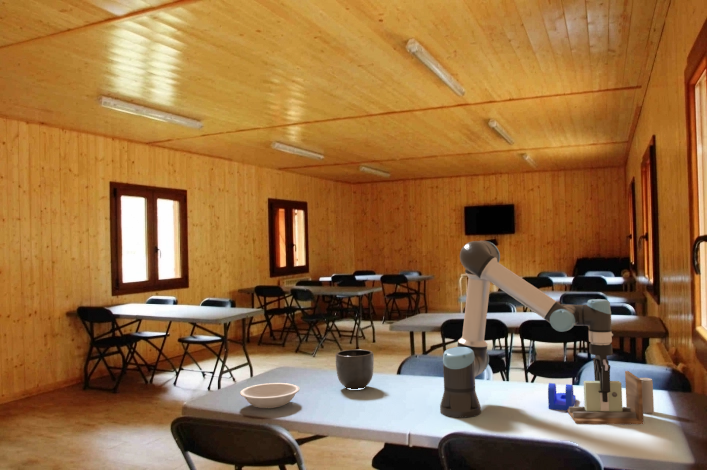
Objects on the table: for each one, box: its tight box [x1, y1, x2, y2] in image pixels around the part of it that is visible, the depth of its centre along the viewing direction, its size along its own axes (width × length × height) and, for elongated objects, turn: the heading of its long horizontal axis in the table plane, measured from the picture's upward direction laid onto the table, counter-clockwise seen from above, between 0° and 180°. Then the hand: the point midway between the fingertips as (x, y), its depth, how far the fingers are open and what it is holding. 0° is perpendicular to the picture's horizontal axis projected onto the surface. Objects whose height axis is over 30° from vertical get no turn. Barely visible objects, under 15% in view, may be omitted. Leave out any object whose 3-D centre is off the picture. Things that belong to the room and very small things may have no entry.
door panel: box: [583, 380, 623, 412], centre depth 204 cm, size 12×4×10 cm, turn 81°
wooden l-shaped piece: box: [566, 370, 644, 425], centre depth 204 cm, size 22×14×15 cm, turn 81°
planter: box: [334, 348, 375, 389], centre depth 257 cm, size 17×17×16 cm
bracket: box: [547, 382, 577, 412], centre depth 223 cm, size 18×8×9 cm, turn 154°
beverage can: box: [638, 377, 655, 415], centre depth 209 cm, size 5×5×12 cm
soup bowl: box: [239, 382, 300, 409], centre depth 233 cm, size 24×24×7 cm
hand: (603, 409), depth 204 cm, fingers closed on door panel, 3 cm apart
